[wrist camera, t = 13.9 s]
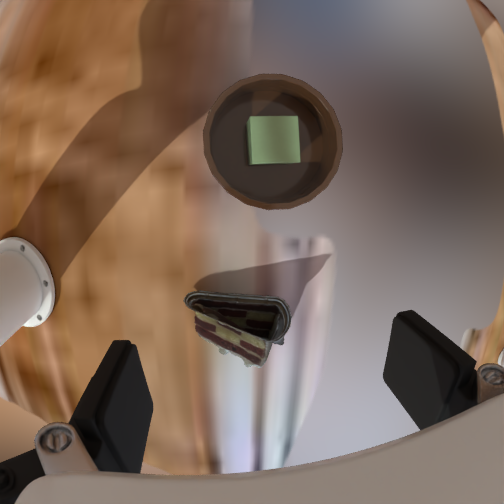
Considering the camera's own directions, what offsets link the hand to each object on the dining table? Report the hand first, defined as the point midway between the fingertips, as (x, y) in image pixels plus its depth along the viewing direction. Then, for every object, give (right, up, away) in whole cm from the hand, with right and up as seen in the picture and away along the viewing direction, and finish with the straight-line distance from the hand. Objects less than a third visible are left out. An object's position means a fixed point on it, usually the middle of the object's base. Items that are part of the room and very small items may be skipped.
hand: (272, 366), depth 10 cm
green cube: (+1, +15, +21) cm, 26 cm away
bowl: (+1, +15, +21) cm, 26 cm away
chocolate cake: (-3, -5, +26) cm, 27 cm away
